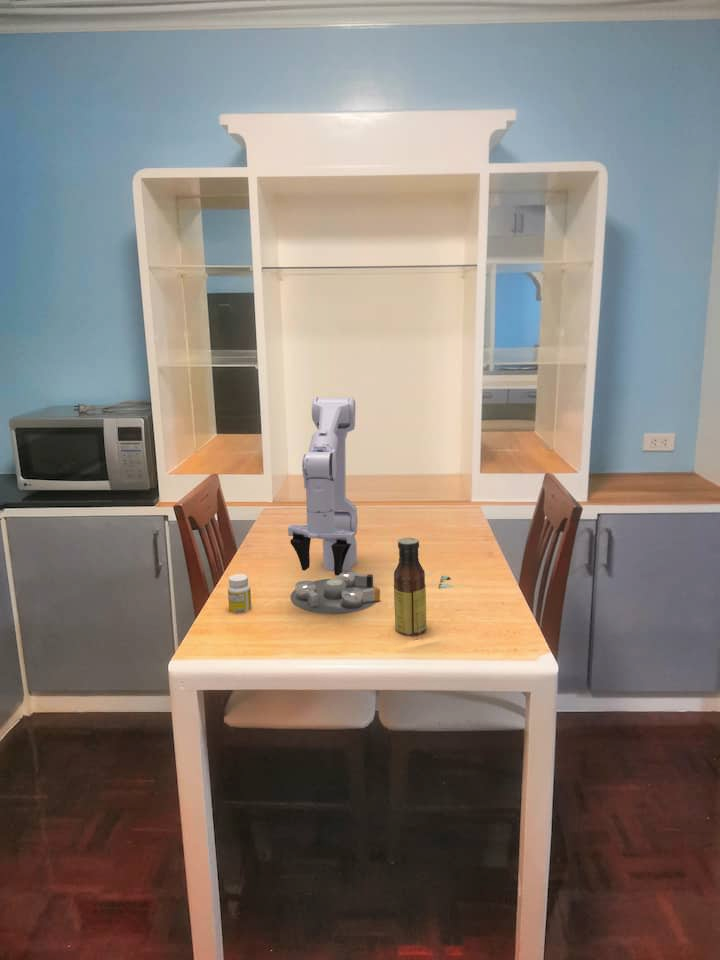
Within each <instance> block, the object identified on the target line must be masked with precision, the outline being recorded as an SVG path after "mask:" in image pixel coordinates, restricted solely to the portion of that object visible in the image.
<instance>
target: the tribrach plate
mask: <svg viewBox="0 0 720 960" xmlns="http://www.w3.org/2000/svg"><path fill="white" fill-rule="evenodd" d="M312 581H313V582H315V583H316V593H317V594H318V606H315V607H311V606H310V604H309V603H308V601H307V600H299V599H297V598H296V589H295V588H294V590H292V592H291V593H290V601H291V603H292V604H293V605H294V606H295V607H296V608H298V609H301V610H303V611H306V612H309V613H314V614H318V615H319V614H320V615H321V614H322V615H345V614H352V613H353V614H354V613H356V612H360V611H364V610H365V609H369V608H370V607H372V606H374V605H375V604H376V603H377V602H378V601H370V602H365V603H363V605H362V606H360V607H357V608H347V607H344V606H343V605H342V590H343V589H346V582H345V581H343V580H340V579H337V578H323V579H318V580H312ZM374 587H375V586H374V585H373V586H372V587H367V586H354V587H351V588H359V589H361V590H364V589H370V588H374Z"/></svg>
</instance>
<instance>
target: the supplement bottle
mask: <svg viewBox="0 0 720 960" xmlns="http://www.w3.org/2000/svg"><path fill="white" fill-rule="evenodd" d="M251 592H252V591H251V585H250V583H249V577H248V575H247V574H245V573H236V574H232V575H230V576H229V577H228V587H227V597H228V610H229V612H230V613H233V614H245V613H248V612H250V610H252V597H251V596H252V595H251Z"/></svg>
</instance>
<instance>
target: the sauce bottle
mask: <svg viewBox="0 0 720 960" xmlns="http://www.w3.org/2000/svg"><path fill="white" fill-rule="evenodd" d="M397 547H398V555H399V558H398V564H397V565H396V567H395V570H394V572H393V598H394V599H393V600H394V622H395V623H394V625H395V626H394V627H395V632H397V633H398V634H401V635H403V636H408V637H417V636H421V635H423V634H425V633H426V632H427V597H426V596H427V595H426V594H427V590H426V580H425V579H426V578H425V577H426V576H425V575H426V574H425V570H424V568H423V566H422V564H421V563H420V560H419V559H420V558H419V548H420V540H419V539H418V538H415V537H402V538H400V539H398V541H397ZM417 640H419V638H417V639H415V641H417Z"/></svg>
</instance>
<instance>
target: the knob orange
mask: <svg viewBox="0 0 720 960" xmlns="http://www.w3.org/2000/svg"><path fill="white" fill-rule="evenodd" d="M373 587H374V588H370V589H364V590H361V589H359V588H346V589H343V590H342V605H343V606H344V607H347V608H357V607H360V606H362V605H363V603H365V602H370V601H377V602H378V601H380V600H381V595H380V594H381V593H380V592H381V590H380V588H379V587H377V586H376V587H375V586H373Z"/></svg>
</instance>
